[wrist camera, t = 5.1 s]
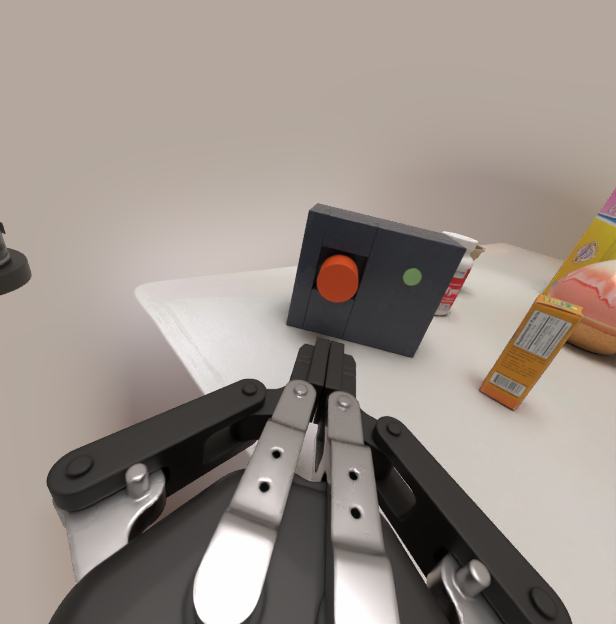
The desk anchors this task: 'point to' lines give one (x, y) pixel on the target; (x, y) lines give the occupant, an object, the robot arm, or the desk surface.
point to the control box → (374, 279)
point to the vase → (592, 305)
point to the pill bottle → (457, 273)
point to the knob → (338, 278)
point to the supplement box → (531, 350)
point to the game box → (592, 243)
